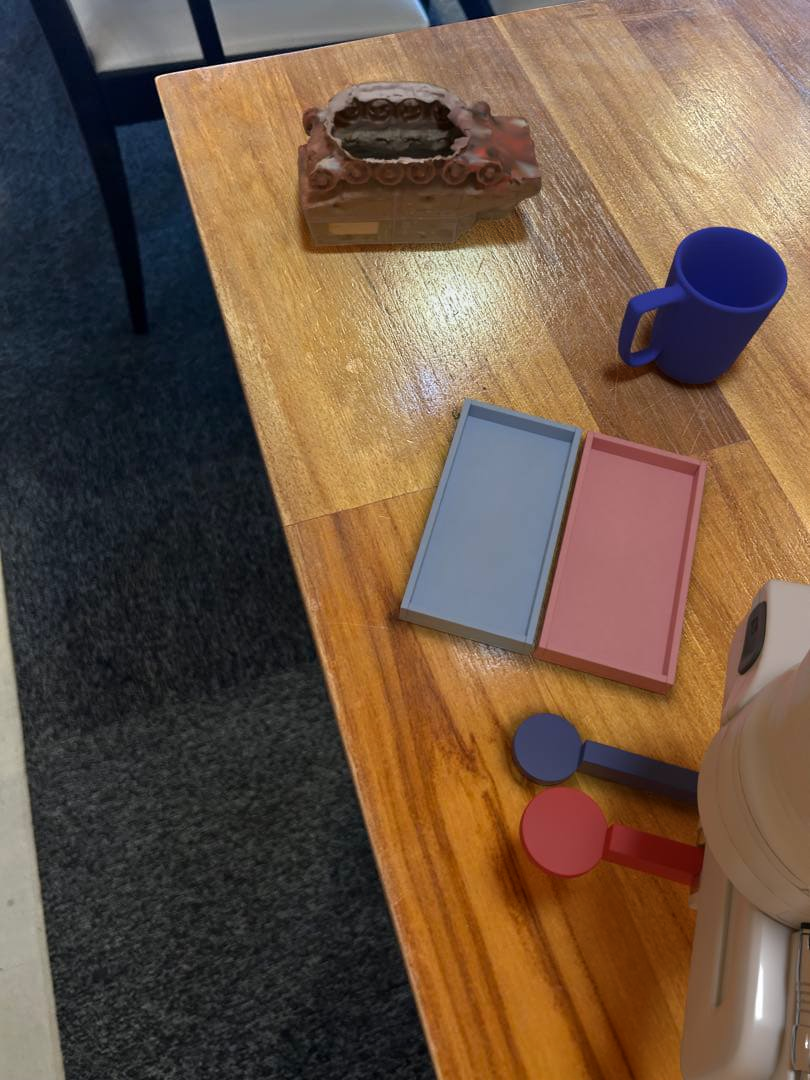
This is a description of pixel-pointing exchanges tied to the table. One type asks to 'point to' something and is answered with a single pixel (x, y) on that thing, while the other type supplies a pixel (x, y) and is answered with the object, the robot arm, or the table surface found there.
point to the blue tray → (493, 527)
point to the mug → (706, 304)
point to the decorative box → (410, 165)
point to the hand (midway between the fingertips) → (709, 868)
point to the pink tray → (624, 563)
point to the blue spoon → (593, 760)
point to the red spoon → (596, 840)
